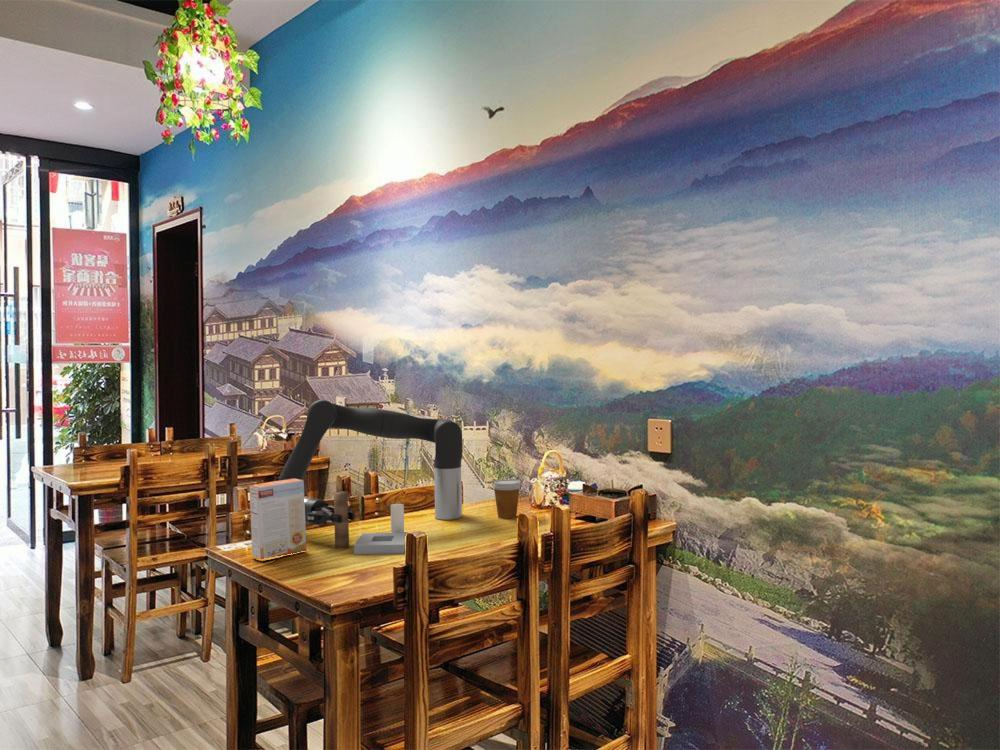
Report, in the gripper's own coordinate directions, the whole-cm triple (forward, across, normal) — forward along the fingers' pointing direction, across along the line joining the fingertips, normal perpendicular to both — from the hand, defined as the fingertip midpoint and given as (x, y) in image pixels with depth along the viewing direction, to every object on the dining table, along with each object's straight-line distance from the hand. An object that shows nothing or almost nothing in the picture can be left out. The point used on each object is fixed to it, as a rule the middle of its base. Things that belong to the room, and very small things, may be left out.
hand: (347, 517), depth 213 cm
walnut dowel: (-3, 0, +9) cm, 9 cm away
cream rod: (+3, +17, +9) cm, 20 cm away
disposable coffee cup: (+13, +58, +9) cm, 60 cm away
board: (+7, +7, +9) cm, 13 cm away
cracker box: (-10, -16, +9) cm, 21 cm away
